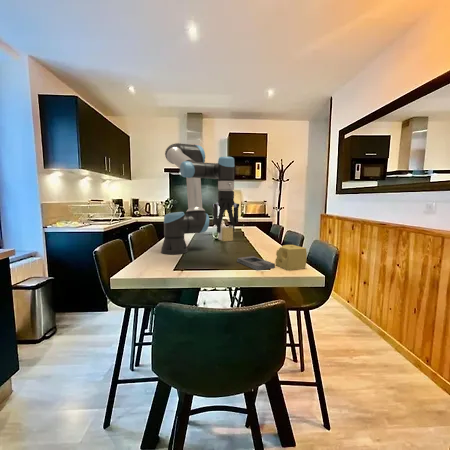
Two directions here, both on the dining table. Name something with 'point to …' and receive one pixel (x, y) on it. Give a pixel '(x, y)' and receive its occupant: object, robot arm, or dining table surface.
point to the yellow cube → (227, 234)
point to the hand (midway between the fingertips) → (225, 239)
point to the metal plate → (256, 263)
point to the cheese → (291, 257)
